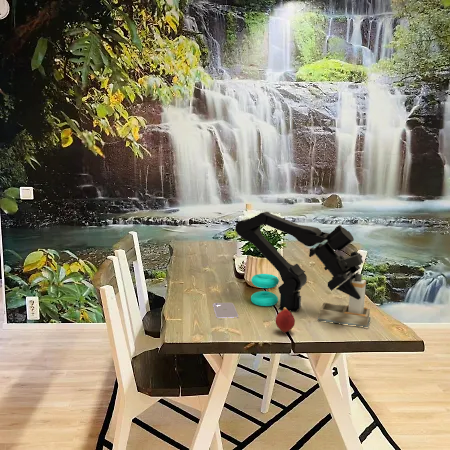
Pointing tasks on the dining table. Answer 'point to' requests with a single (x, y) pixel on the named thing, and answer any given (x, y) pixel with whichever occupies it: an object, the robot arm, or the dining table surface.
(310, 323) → the dining table surface
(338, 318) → the rack
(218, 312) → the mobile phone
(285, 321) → the onion
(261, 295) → the donuts
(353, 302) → the bottle
